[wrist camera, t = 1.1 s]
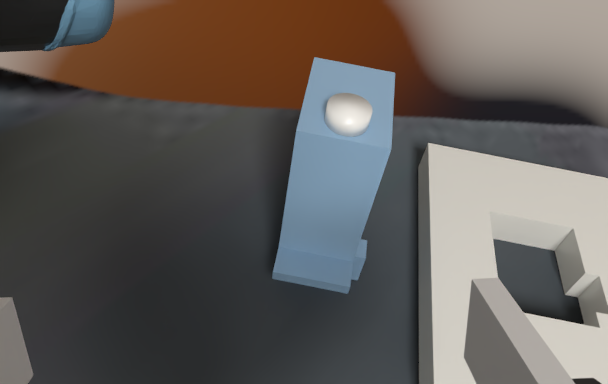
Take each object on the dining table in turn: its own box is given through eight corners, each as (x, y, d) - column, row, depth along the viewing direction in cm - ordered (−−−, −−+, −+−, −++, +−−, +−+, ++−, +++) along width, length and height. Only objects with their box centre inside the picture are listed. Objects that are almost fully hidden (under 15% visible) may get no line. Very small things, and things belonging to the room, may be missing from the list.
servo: (294, 188, 43) (321, 25, 32) (364, 202, 43) (415, 44, 32) (268, 302, 36) (292, 141, 25) (353, 319, 36) (415, 165, 25)
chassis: (418, 167, 47) (428, 142, 45) (592, 201, 47) (611, 179, 45) (418, 412, 32) (434, 393, 30) (675, 464, 32) (709, 449, 30)
